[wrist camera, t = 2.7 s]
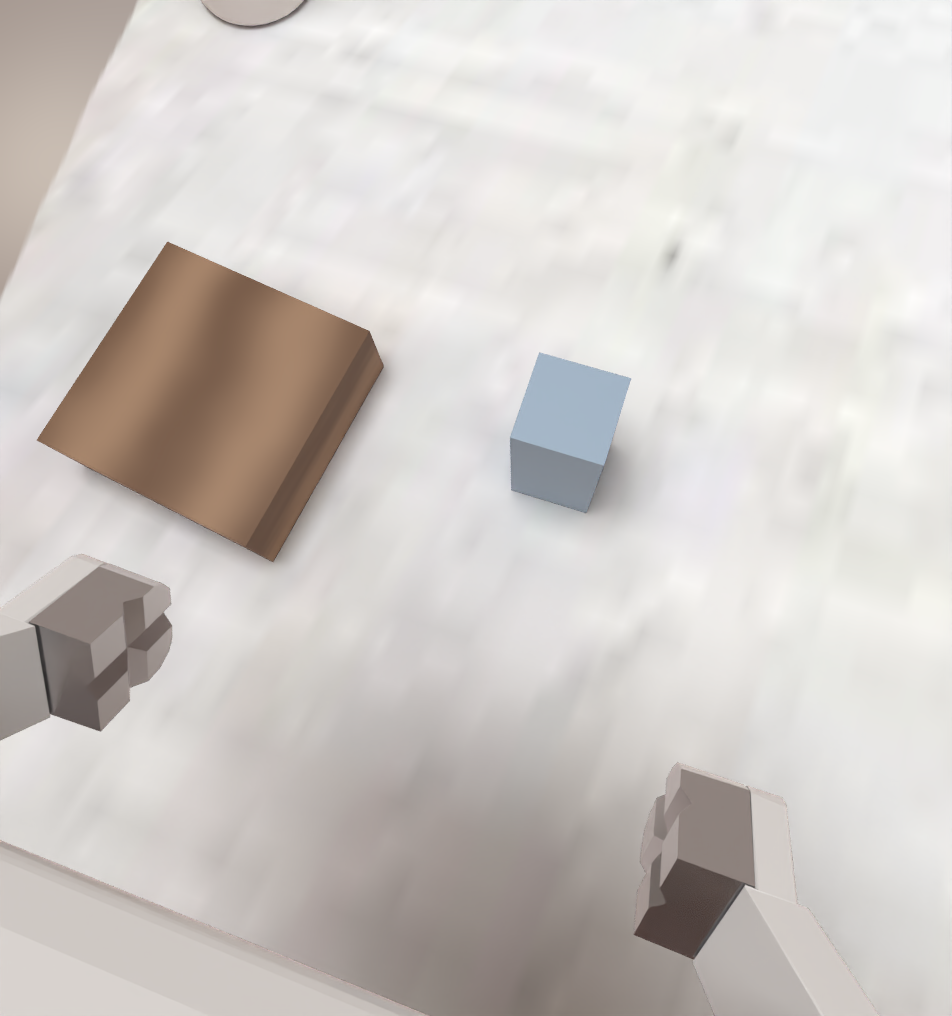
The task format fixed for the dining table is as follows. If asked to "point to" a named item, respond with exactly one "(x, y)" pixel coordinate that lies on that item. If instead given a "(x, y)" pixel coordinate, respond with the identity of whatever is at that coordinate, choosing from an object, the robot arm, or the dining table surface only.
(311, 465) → the base brick
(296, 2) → the milk bottle
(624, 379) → the tower block
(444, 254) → the dining table surface
